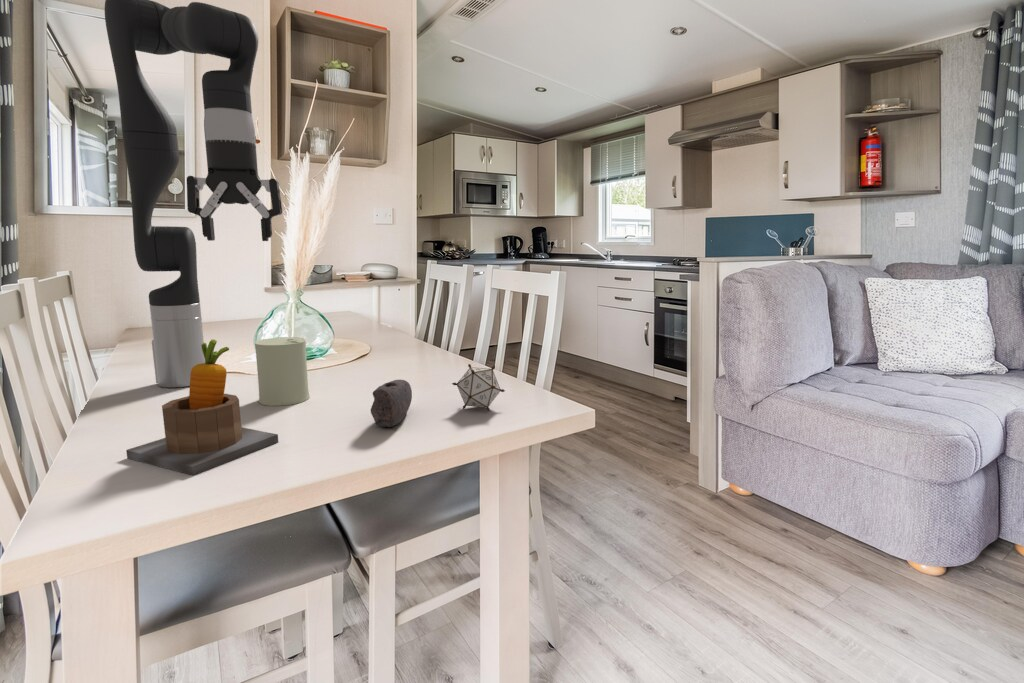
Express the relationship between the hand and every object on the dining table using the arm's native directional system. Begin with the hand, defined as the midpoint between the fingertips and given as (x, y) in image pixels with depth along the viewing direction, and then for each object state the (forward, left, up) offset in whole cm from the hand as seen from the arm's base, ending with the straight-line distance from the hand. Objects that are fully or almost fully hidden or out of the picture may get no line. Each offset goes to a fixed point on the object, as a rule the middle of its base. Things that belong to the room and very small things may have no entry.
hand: (238, 240), depth 97 cm
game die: (+36, +20, -31) cm, 51 cm away
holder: (+10, -16, -30) cm, 36 cm away
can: (-1, +9, -31) cm, 32 cm away
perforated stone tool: (+26, +8, -31) cm, 41 cm away
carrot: (+9, -17, -29) cm, 35 cm away
